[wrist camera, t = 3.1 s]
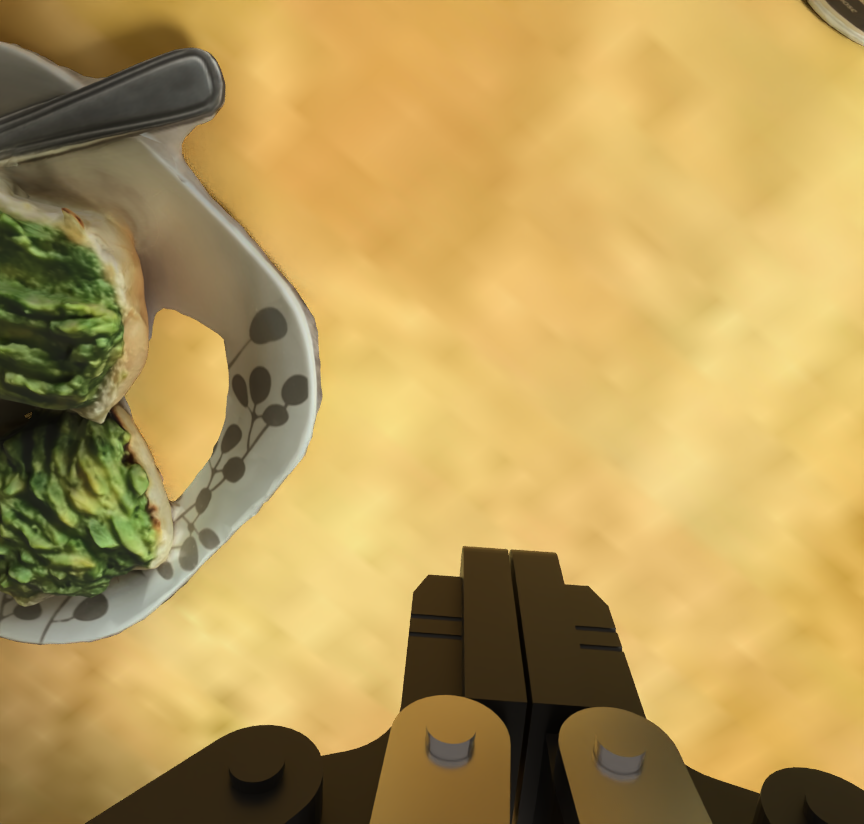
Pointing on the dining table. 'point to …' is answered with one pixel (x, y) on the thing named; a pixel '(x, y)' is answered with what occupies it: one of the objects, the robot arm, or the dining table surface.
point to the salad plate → (125, 344)
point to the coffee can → (842, 16)
